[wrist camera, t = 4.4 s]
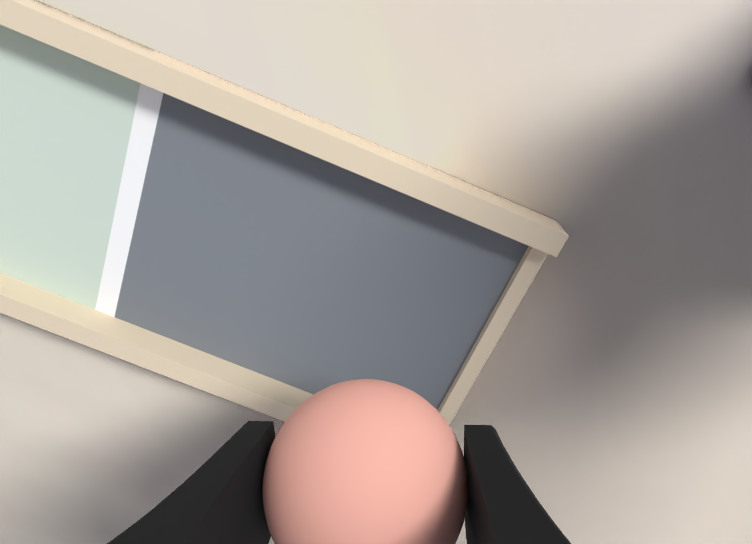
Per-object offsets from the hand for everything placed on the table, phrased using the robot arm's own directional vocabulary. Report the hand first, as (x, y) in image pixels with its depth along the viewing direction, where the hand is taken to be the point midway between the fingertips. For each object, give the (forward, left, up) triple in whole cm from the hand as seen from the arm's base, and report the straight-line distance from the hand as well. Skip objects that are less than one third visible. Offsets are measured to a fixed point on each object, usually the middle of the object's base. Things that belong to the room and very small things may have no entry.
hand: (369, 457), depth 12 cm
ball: (0, 0, +1) cm, 1 cm away
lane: (+8, 0, -8) cm, 12 cm away
